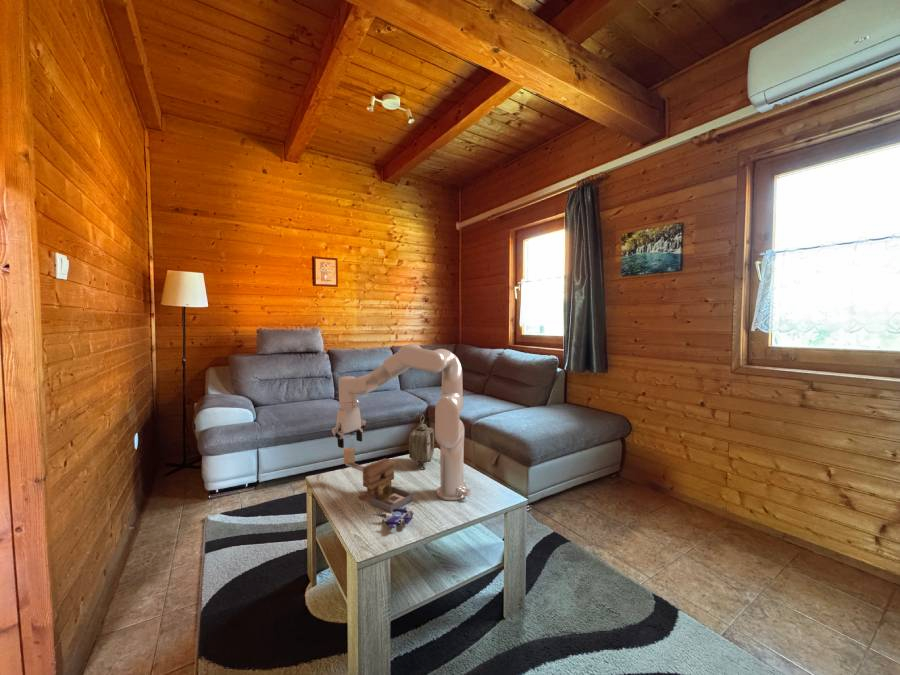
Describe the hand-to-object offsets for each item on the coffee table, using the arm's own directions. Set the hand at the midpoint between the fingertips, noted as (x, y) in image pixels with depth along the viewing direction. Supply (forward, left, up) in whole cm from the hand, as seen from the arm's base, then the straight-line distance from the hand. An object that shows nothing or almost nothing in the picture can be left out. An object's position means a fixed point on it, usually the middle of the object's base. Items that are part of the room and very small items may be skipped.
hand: (350, 444), depth 158 cm
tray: (-26, 0, -18) cm, 31 cm away
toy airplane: (-37, +10, -18) cm, 43 cm away
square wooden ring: (-24, 0, -17) cm, 29 cm away
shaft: (-9, 0, -10) cm, 13 cm away
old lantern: (-10, -35, -18) cm, 41 cm away
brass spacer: (-22, 0, -17) cm, 28 cm away
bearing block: (-17, 0, -18) cm, 24 cm away
